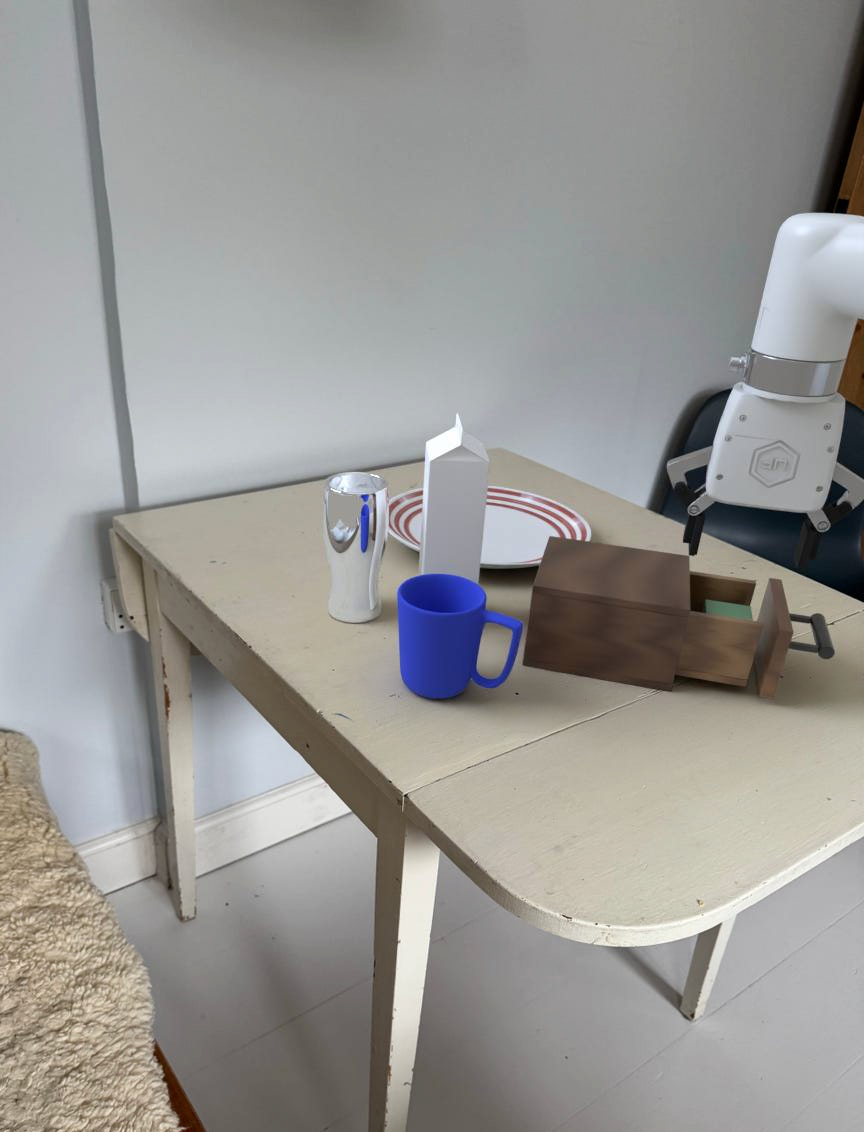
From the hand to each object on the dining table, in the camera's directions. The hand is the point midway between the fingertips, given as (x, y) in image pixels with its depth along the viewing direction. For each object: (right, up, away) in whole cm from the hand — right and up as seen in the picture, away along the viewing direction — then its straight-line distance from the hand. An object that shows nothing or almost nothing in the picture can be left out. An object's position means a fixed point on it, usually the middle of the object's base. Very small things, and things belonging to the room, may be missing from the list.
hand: (744, 557), depth 83 cm
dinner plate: (-21, +5, +32) cm, 39 cm away
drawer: (0, -10, +6) cm, 12 cm away
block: (0, -9, +5) cm, 10 cm away
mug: (-28, -13, +1) cm, 31 cm away
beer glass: (-38, -5, +14) cm, 41 cm away
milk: (-28, -5, +14) cm, 31 cm away
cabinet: (-12, -9, +9) cm, 17 cm away
